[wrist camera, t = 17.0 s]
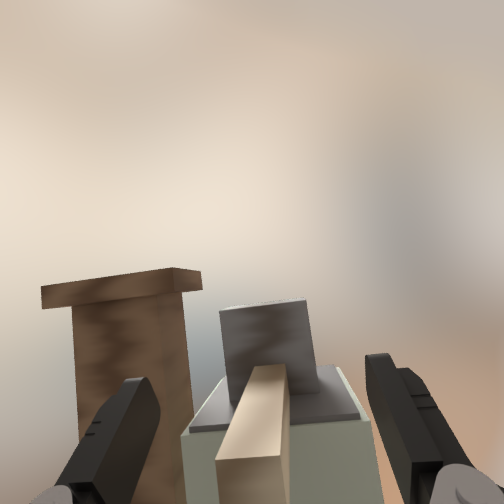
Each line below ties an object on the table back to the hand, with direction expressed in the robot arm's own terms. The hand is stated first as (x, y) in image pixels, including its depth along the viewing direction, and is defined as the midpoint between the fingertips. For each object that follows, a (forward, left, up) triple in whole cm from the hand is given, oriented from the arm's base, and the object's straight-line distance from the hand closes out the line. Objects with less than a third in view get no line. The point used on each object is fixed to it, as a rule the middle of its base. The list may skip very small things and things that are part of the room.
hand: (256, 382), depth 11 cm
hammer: (-1, +8, -5) cm, 10 cm away
